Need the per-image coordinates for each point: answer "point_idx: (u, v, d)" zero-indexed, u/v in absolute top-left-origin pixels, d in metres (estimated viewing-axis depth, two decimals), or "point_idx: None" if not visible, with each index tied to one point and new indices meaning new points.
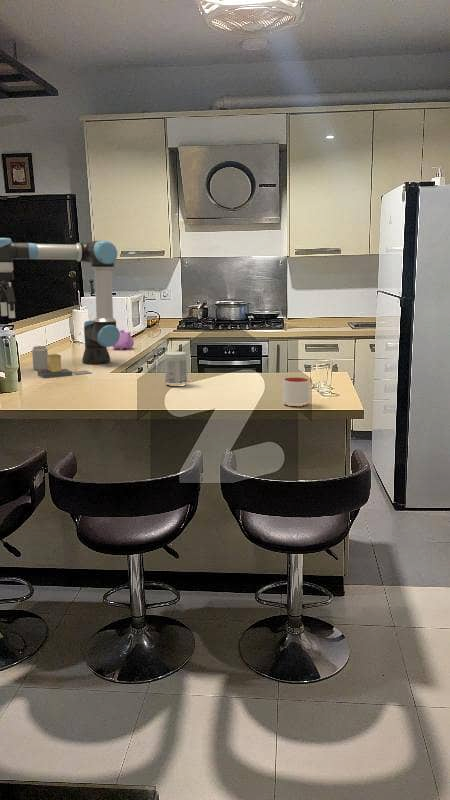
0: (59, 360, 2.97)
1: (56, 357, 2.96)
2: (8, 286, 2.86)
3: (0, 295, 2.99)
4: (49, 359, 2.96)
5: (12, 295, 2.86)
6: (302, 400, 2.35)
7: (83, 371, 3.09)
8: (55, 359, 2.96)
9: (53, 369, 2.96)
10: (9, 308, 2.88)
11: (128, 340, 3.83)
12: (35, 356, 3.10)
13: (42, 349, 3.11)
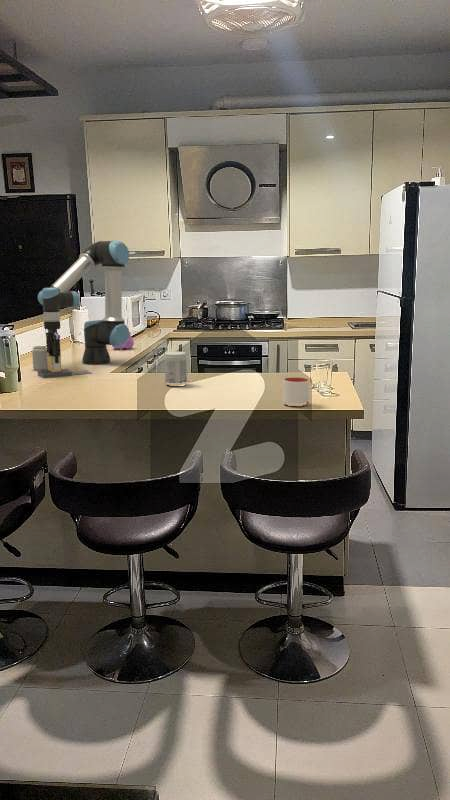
0: (59, 360, 2.97)
1: None
2: (55, 339, 2.90)
3: (48, 346, 3.00)
4: (49, 359, 2.96)
5: (58, 348, 2.92)
6: (302, 400, 2.35)
7: (83, 371, 3.09)
8: None
9: (53, 368, 2.96)
10: (54, 360, 2.95)
11: (128, 340, 3.83)
12: (35, 356, 3.10)
13: (42, 349, 3.11)
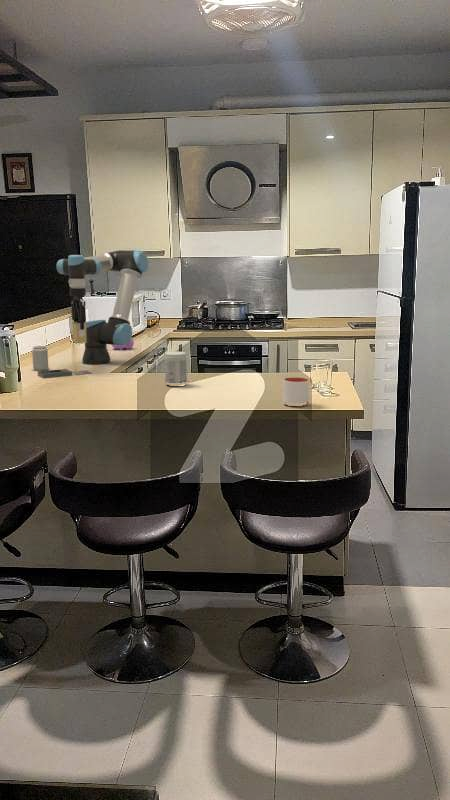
0: (84, 327, 3.01)
1: None
2: (81, 305, 2.94)
3: (73, 313, 3.04)
4: (74, 326, 3.00)
5: (83, 314, 2.96)
6: (302, 400, 2.35)
7: (83, 371, 3.09)
8: None
9: (78, 335, 3.00)
10: (79, 327, 2.99)
11: None
12: (35, 356, 3.10)
13: (42, 349, 3.11)
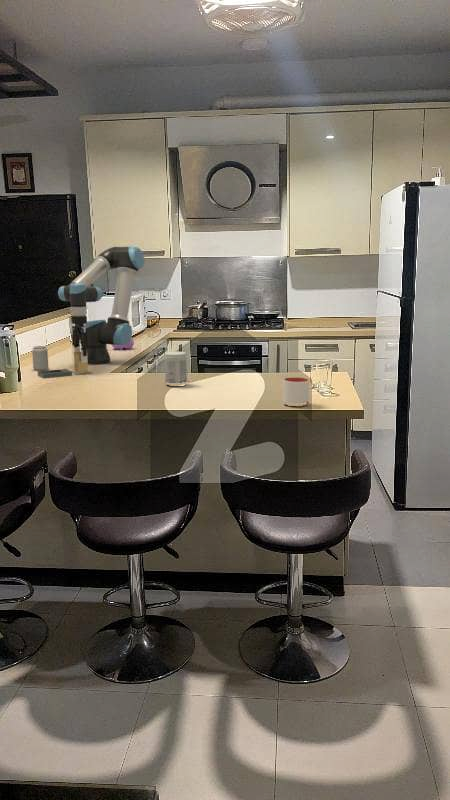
0: None
1: None
2: (83, 332, 2.97)
3: (73, 339, 3.08)
4: (76, 356, 3.03)
5: (86, 341, 2.98)
6: (302, 400, 2.35)
7: None
8: None
9: (80, 365, 3.03)
10: (82, 353, 3.00)
11: None
12: (35, 356, 3.10)
13: (42, 349, 3.11)
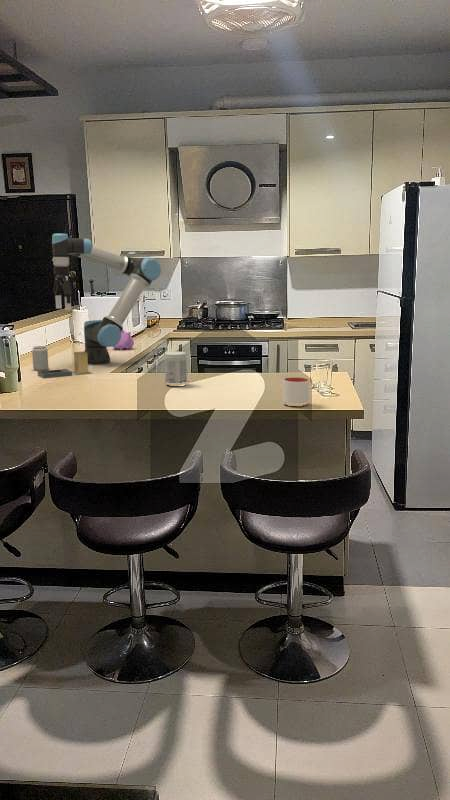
0: (86, 357, 3.04)
1: (83, 354, 3.03)
2: (65, 279, 3.00)
3: (55, 288, 3.13)
4: (76, 356, 3.03)
5: (69, 288, 3.00)
6: (302, 400, 2.35)
7: None
8: (82, 356, 3.03)
9: (80, 365, 3.03)
10: (66, 301, 3.02)
11: (128, 340, 3.83)
12: (35, 356, 3.10)
13: (42, 349, 3.11)
